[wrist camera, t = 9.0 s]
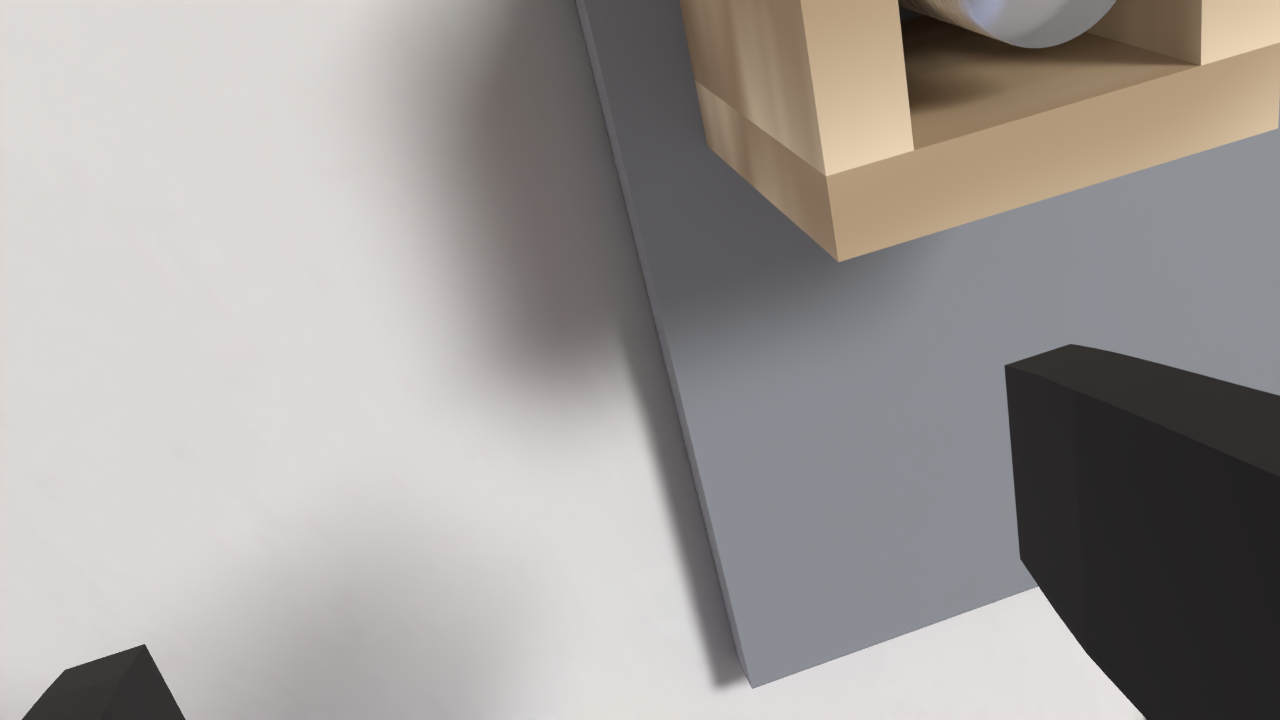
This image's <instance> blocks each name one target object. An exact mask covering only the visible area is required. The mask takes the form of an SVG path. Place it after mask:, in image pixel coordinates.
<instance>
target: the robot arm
mask: <svg viewBox="0 0 1280 720" xmlns="http://www.w3.org/2000/svg"><path fill="white" fill-rule="evenodd" d="M1004 367H1005V379H1006V391H1007V404H1008V416H1009V428H1010V441H1011V453H1012V465H1013V478H1014V490H1015V502H1016V515H1017V527H1018V539H1019V552H1020V560H1021V561H1022V563H1023V564H1024V565H1025V567H1026V568H1027V570H1028V571H1029V573H1030V574H1031V576H1032V577H1033V579H1034V580H1035V582H1036V583H1037V585H1038V586H1039V587H1040V589H1041V590H1042V592H1043V593H1044V595H1045V596H1046V598H1047V599H1048V601H1049V602H1050V604H1051V605H1052V606H1053V608H1054V609H1055V611H1056V612H1057V614H1058V615H1059V616H1060V618H1061V619H1062V620H1063V622H1064V623H1065V624H1066V626H1067V627H1068V629H1069V630H1070V631H1071V633H1072V634H1073V635H1074V637H1075V638H1076V640H1077V641H1078V642H1079V644H1080V645H1081V646H1082V648H1083V649H1084V650H1085V652H1086V653H1087V654H1088V655H1089V656H1090V658H1091V659H1092V660H1093V661H1094V662H1095V663H1096V664H1097V665H1098V666H1099V668H1100V669H1101V670H1102V671H1103V672H1104V673H1105V674H1106V675H1107V676H1108V678H1109V679H1110V680H1111V681H1112V682H1113V683H1114V684H1115V685H1116V686H1117V687H1118V688H1119V690H1120V691H1121V692H1122V693H1123V694H1124V695H1125V696H1126V697H1127V698H1128V699H1129V700H1130V701H1131V703H1132V704H1133V705H1134V706H1135V707H1136V708H1137V709H1138V710H1139V711H1140V712H1141V713H1142V715H1143V716H1144V717H1145V718H1146V719H1147V720H1280V396H1279V395H1275V394H1272V393H1268V392H1264V391H1260V390H1257V389H1253V388H1249V387H1246V386H1242V385H1238V384H1234V383H1231V382H1227V381H1223V380H1219V379H1216V378H1212V377H1208V376H1205V375H1201V374H1197V373H1193V372H1190V371H1186V370H1182V369H1179V368H1175V367H1171V366H1167V365H1163V364H1160V363H1156V362H1152V361H1148V360H1144V359H1140V358H1136V357H1132V356H1128V355H1124V354H1119V353H1115V352H1111V351H1106V350H1101V349H1097V348H1092V347H1086V346H1080V345H1075V344H1069V345H1066V346H1062V347H1059V348H1056V349H1053V350H1050V351H1047V352H1044V353H1041V354H1038V355H1035V356H1032V357H1029V358H1025V359H1022V360H1019V361H1016V362H1013V363H1010V364H1007V365H1004ZM22 720H185V718H184V716H183V714H182V712H181V711H180V709H179V707H178V705H177V703H176V701H175V699H174V698H173V696H172V694H171V692H170V690H169V688H168V686H167V685H166V683H165V681H164V679H163V677H162V675H161V673H160V671H159V670H158V668H157V666H156V664H155V662H154V660H153V658H152V657H151V655H150V653H149V651H148V649H147V647H146V645H145V644H144V645H140V646H137V647H134V648H131V649H128V650H125V651H122V652H119V653H116V654H113V655H110V656H107V657H103V658H100V659H97V660H94V661H91V662H88V663H85V664H82V665H79V666H76V667H73V668H70V669H66V670H64V672H63V673H62V674H61V675H60V676H59V677H58V678H57V679H56V680H55V681H54V682H53V684H52V685H51V686H50V687H49V688H48V689H47V690H46V691H45V693H44V694H43V695H42V696H41V697H40V698H39V700H38V701H37V702H36V703H35V704H34V705H33V707H32V708H31V709H30V710H29V712H28V713H27V714H26V715H25V716H24V718H23V719H22Z"/></svg>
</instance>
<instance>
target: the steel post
mask: <svg viewBox="0 0 1280 720" xmlns="http://www.w3.org/2000/svg"><path fill="white" fill-rule="evenodd" d="M1116 1H1117V0H898V6H900V7H903V8H906V9H909V10H912V11H915V12H918V13H921V14H924V15H927V16H930V17H932V18H935V19H938V20H941V21H944V22H947V23H950V24H953V25H956V26H959V27H962V28H965V29H968V30H970V31H973V32H976V33H979V34H982V35H985V36H988V37H991V38H994V39H997V40H1000V41H1003V42H1006V43H1008V44H1011V45H1015V46H1019V47H1024V48H1046V47H1051V46H1055V45H1059V44H1062V43H1064V42H1067V41H1070V40H1071V39H1073V38H1075V37H1077V36H1079V35H1081V34H1082V33H1084V32H1085V31H1087V30H1088V29H1090V28H1091V27H1092V26H1093V25H1095V24H1096V23H1097V22H1098V21H1099V20H1100V19H1101V18H1102V17H1103V16H1104V15H1105V14H1106V13H1107V12H1108V11H1109V10H1110V9H1111V7H1112V6H1113V5H1114V3H1115V2H1116Z"/></svg>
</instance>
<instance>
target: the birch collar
mask: <svg viewBox="0 0 1280 720" xmlns="http://www.w3.org/2000/svg"><path fill="white" fill-rule="evenodd" d="M679 2H680V7H681V13H682V18H683V23H684V28H685V33H686V38H687V44H688V49H689V54H690V59H691V64H692V70H693V75H694V80H695V85H696V90H697V95H698V101H699V106H700V111H701V116H702V121H703V126H704V132H705V137H706V142H707V146H708V147H709V148H710V149H711V150H712V151H713V152H715V153H716V154H717V155H718V156H719V157H720V158H721V159H722V160H724V161H725V162H726V163H727V164H728V165H729V166H730V167H732V168H733V169H734V170H735V171H736V172H737V173H738V174H739V175H741V176H742V177H743V178H744V179H745V180H746V181H747V182H748V183H750V184H751V185H752V186H753V187H754V188H755V189H756V190H757V191H759V192H760V193H761V194H762V195H763V196H764V197H765V198H767V199H768V200H769V201H770V202H771V203H772V204H773V205H774V206H776V207H777V208H778V209H779V210H780V211H781V212H782V213H783V214H785V215H786V216H787V217H788V218H789V219H790V220H791V221H793V222H794V223H795V224H796V225H797V226H798V227H799V228H800V229H802V230H803V231H804V232H805V233H806V234H807V235H808V236H809V237H811V238H812V239H813V240H814V241H815V242H816V243H817V244H819V245H820V246H821V247H822V248H823V249H824V250H825V251H826V252H828V253H829V254H830V255H831V256H832V257H833V258H834V259H835V260H837V261H838V262H841V261H844V260H848V259H851V258H854V257H857V256H861V255H864V254H867V253H871V252H874V251H877V250H880V249H884V248H887V247H890V246H894V245H897V244H900V243H903V242H907V241H910V240H913V239H917V238H920V237H923V236H926V235H930V234H933V233H936V232H939V231H943V230H946V229H949V228H953V227H956V226H959V225H962V224H966V223H969V222H972V221H976V220H979V219H982V218H985V217H989V216H992V215H995V214H999V213H1002V212H1005V211H1008V210H1012V209H1015V208H1018V207H1022V206H1025V205H1028V204H1031V203H1035V202H1038V201H1041V200H1044V199H1048V198H1051V197H1054V196H1058V195H1061V194H1064V193H1067V192H1071V191H1074V190H1077V189H1081V188H1084V187H1087V186H1090V185H1094V184H1097V183H1100V182H1104V181H1107V180H1110V179H1113V178H1117V177H1120V176H1123V175H1127V174H1130V173H1133V172H1136V171H1140V170H1143V169H1146V168H1149V167H1153V166H1156V165H1159V164H1163V163H1166V162H1169V161H1172V160H1176V159H1179V158H1182V157H1186V156H1189V155H1192V154H1195V153H1199V152H1202V151H1205V150H1209V149H1212V148H1215V147H1218V146H1222V145H1225V144H1228V143H1231V142H1235V141H1238V140H1241V139H1245V138H1248V137H1251V136H1254V135H1258V134H1261V133H1264V132H1268V131H1271V130H1274V129H1277V128H1278V121H1279V99H1280V0H1117V1H1116V2H1115V3H1114V5H1113V6H1112V7H1111V9H1110V10H1109V11H1108V12H1107V13H1106V14H1105V15H1104V16H1103V17H1102V18H1101V19H1100V20H1099V21H1098V22H1097V23H1096V24H1095V25H1093V26H1092V27H1091V28H1090V29H1088V30H1087V31H1085V32H1084V33H1082V34H1081V35H1079V36H1077V37H1075V38H1073V39H1071V40H1070V41H1067V42H1064V43H1062V44H1059V45H1055V46H1051V47H1046V48H1024V47H1019V46H1015V45H1011V44H1008V43H1006V42H1003V41H1000V40H997V39H994V38H991V37H988V36H985V35H982V34H979V33H976V32H973V31H970V30H968V29H965V28H962V27H959V26H956V25H953V24H950V23H947V22H944V21H941V20H938V19H935V18H932V17H930V16H927V15H923V16H919V17H916V18H912V19H909V20H905V21H902V22H900V15H899V6H898V0H679Z"/></svg>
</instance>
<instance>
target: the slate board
mask: <svg viewBox="0 0 1280 720" xmlns="http://www.w3.org/2000/svg"><path fill="white" fill-rule="evenodd" d="M575 2H576V6H577V10H578V14H579V18H580V22H581V26H582V30H583V34H584V38H585V42H586V46H587V50H588V55H589V59H590V63H591V67H592V71H593V75H594V79H595V83H596V87H597V91H598V95H599V99H600V103H601V107H602V111H603V115H604V119H605V123H606V127H607V131H608V135H609V139H610V143H611V147H612V151H613V155H614V159H615V163H616V168H617V172H618V176H619V180H620V184H621V188H622V192H623V196H624V200H625V204H626V208H627V212H628V216H629V220H630V224H631V228H632V232H633V236H634V240H635V244H636V248H637V252H638V256H639V260H640V264H641V268H642V272H643V276H644V280H645V285H646V289H647V293H648V297H649V301H650V305H651V309H652V313H653V317H654V321H655V325H656V329H657V333H658V337H659V341H660V345H661V349H662V353H663V357H664V361H665V365H666V369H667V373H668V377H669V381H670V385H671V389H672V393H673V398H674V402H675V406H676V410H677V414H678V418H679V422H680V426H681V430H682V434H683V438H684V442H685V446H686V450H687V454H688V458H689V462H690V466H691V470H692V474H693V478H694V482H695V486H696V490H697V494H698V498H699V502H700V506H701V510H702V515H703V519H704V523H705V527H706V531H707V535H708V539H709V543H710V547H711V551H712V555H713V559H714V563H715V567H716V571H717V575H718V579H719V583H720V587H721V591H722V595H723V599H724V603H725V607H726V611H727V615H728V619H729V623H730V628H731V632H732V636H733V640H734V644H735V648H736V652H737V656H738V660H739V663H740V665H741V667H742V669H743V671H744V673H745V675H746V677H747V679H748V681H749V683H750V685H751V687H752V689H753V688H756V687H759V686H761V685H764V684H767V683H770V682H773V681H775V680H778V679H781V678H784V677H787V676H789V675H792V674H795V673H798V672H801V671H803V670H806V669H809V668H812V667H814V666H817V665H820V664H823V663H826V662H828V661H831V660H834V659H837V658H840V657H842V656H845V655H848V654H851V653H854V652H856V651H859V650H862V649H865V648H868V647H870V646H873V645H876V644H879V643H881V642H884V641H887V640H890V639H893V638H895V637H898V636H901V635H904V634H907V633H909V632H912V631H915V630H918V629H921V628H923V627H926V626H929V625H932V624H935V623H937V622H940V621H943V620H946V619H948V618H951V617H954V616H957V615H960V614H962V613H965V612H968V611H971V610H974V609H976V608H979V607H982V606H985V605H988V604H990V603H993V602H996V601H999V600H1002V599H1004V598H1007V597H1010V596H1013V595H1015V594H1018V593H1021V592H1024V591H1027V590H1029V589H1032V588H1035V587H1038V585H1037V583H1036V582H1035V580H1034V579H1033V577H1032V576H1031V574H1030V573H1029V571H1028V570H1027V568H1026V567H1025V565H1024V564H1023V563H1022V561H1021V560H1020V552H1019V539H1018V527H1017V515H1016V502H1015V490H1014V478H1013V465H1012V453H1011V441H1010V428H1009V416H1008V404H1007V391H1006V379H1005V367H1004V365H1007V364H1010V363H1013V362H1016V361H1019V360H1022V359H1025V358H1029V357H1032V356H1035V355H1038V354H1041V353H1044V352H1047V351H1050V350H1053V349H1056V348H1059V347H1062V346H1066V345H1069V344H1075V345H1080V346H1086V347H1092V348H1097V349H1101V350H1106V351H1111V352H1115V353H1119V354H1124V355H1128V356H1132V357H1136V358H1140V359H1144V360H1148V361H1152V362H1156V363H1160V364H1163V365H1167V366H1171V367H1175V368H1179V369H1182V370H1186V371H1190V372H1193V373H1197V374H1201V375H1205V376H1208V377H1212V378H1216V379H1219V380H1223V381H1227V382H1231V383H1234V384H1238V385H1242V386H1246V387H1249V388H1253V389H1257V390H1260V391H1264V392H1268V393H1272V394H1275V395H1279V396H1280V99H1279V121H1278V128H1277V129H1274V130H1271V131H1268V132H1264V133H1261V134H1258V135H1254V136H1251V137H1248V138H1245V139H1241V140H1238V141H1235V142H1231V143H1228V144H1225V145H1222V146H1218V147H1215V148H1212V149H1209V150H1205V151H1202V152H1199V153H1195V154H1192V155H1189V156H1186V157H1182V158H1179V159H1176V160H1172V161H1169V162H1166V163H1163V164H1159V165H1156V166H1153V167H1149V168H1146V169H1143V170H1140V171H1136V172H1133V173H1130V174H1127V175H1123V176H1120V177H1117V178H1113V179H1110V180H1107V181H1104V182H1100V183H1097V184H1094V185H1090V186H1087V187H1084V188H1081V189H1077V190H1074V191H1071V192H1067V193H1064V194H1061V195H1058V196H1054V197H1051V198H1048V199H1044V200H1041V201H1038V202H1035V203H1031V204H1028V205H1025V206H1022V207H1018V208H1015V209H1012V210H1008V211H1005V212H1002V213H999V214H995V215H992V216H989V217H985V218H982V219H979V220H976V221H972V222H969V223H966V224H962V225H959V226H956V227H953V228H949V229H946V230H943V231H939V232H936V233H933V234H930V235H926V236H923V237H920V238H917V239H913V240H910V241H907V242H903V243H900V244H897V245H894V246H890V247H887V248H884V249H880V250H877V251H874V252H871V253H867V254H864V255H861V256H857V257H854V258H851V259H848V260H844V261H841V262H838V261H837V260H835V259H834V258H833V257H832V256H831V255H830V254H829V253H828V252H826V251H825V250H824V249H823V248H822V247H821V246H820V245H819V244H817V243H816V242H815V241H814V240H813V239H812V238H811V237H809V236H808V235H807V234H806V233H805V232H804V231H803V230H802V229H800V228H799V227H798V226H797V225H796V224H795V223H794V222H793V221H791V220H790V219H789V218H788V217H787V216H786V215H785V214H783V213H782V212H781V211H780V210H779V209H778V208H777V207H776V206H774V205H773V204H772V203H771V202H770V201H769V200H768V199H767V198H765V197H764V196H763V195H762V194H761V193H760V192H759V191H757V190H756V189H755V188H754V187H753V186H752V185H751V184H750V183H748V182H747V181H746V180H745V179H744V178H743V177H742V176H741V175H739V174H738V173H737V172H736V171H735V170H734V169H733V168H732V167H730V166H729V165H728V164H727V163H726V162H725V161H724V160H722V159H721V158H720V157H719V156H718V155H717V154H716V153H715V152H713V151H712V150H711V149H710V148H709V147H708V146H707V142H706V137H705V132H704V126H703V121H702V116H701V111H700V106H699V101H698V95H697V90H696V85H695V80H694V75H693V70H692V64H691V59H690V54H689V49H688V44H687V38H686V33H685V28H684V23H683V18H682V13H681V7H680V2H679V0H575ZM899 15H900V22H902V21H905V20H909V19H912V18H916V17H919V16H923V15H924V14H921V13H918V12H915V11H912V10H909V9H906V8H903V7H900V6H899Z"/></svg>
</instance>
